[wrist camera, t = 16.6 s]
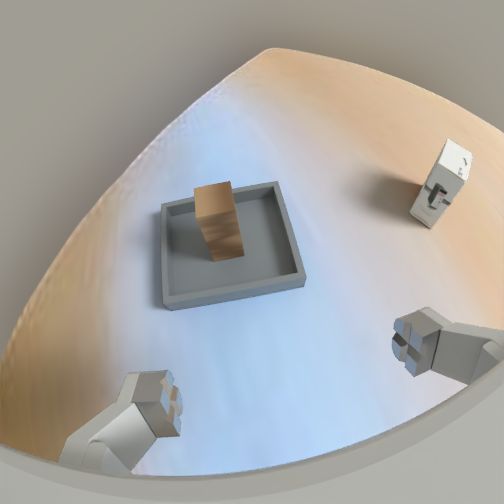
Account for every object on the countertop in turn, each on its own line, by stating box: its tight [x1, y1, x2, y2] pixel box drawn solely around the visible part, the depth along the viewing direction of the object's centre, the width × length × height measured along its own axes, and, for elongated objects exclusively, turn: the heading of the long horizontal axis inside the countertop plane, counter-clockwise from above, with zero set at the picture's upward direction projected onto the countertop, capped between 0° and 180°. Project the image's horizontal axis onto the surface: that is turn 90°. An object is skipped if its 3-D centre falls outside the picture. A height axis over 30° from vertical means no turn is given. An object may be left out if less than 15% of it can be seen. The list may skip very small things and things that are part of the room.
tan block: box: [194, 181, 245, 262], centre depth 33 cm, size 4×4×10 cm
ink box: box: [409, 138, 473, 229], centre depth 33 cm, size 9×5×12 cm, turn 139°
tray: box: [161, 181, 306, 311], centre depth 36 cm, size 17×15×3 cm
